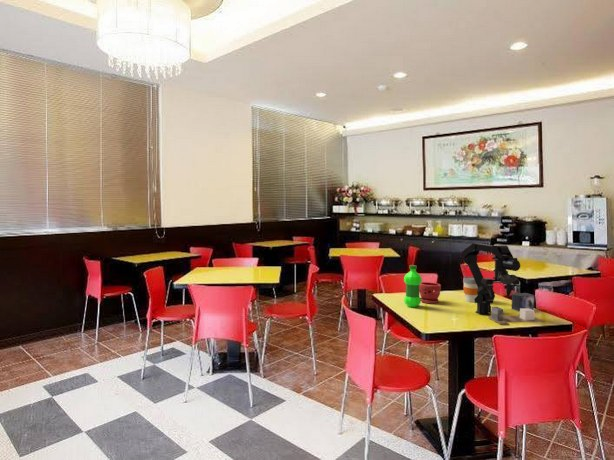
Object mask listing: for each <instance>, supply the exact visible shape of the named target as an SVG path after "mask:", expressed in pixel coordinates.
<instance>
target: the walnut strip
mask: <svg viewBox="0 0 614 460" xmlns="http://www.w3.org/2000/svg"><path fill="white" fill-rule="evenodd" d="M490 314H491V315H487V316H488V318H487V319H490V320H491V321H493V322H495V323H497V324H499V325H510V323H544V322H545V321H544V320H542V319H539V318H537V317H535V316H534V320H524V319H522V318H520V315H504V308H501V307H499V306H491V312H490Z"/></svg>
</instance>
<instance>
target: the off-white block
mask: <svg viewBox="0 0 614 460" xmlns="http://www.w3.org/2000/svg"><path fill="white" fill-rule="evenodd" d="M519 316H520V318H522V319H524V320H534V317H535V309H534V310H532V309H529V308H520V312H519Z"/></svg>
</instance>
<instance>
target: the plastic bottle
mask: <svg viewBox="0 0 614 460" xmlns="http://www.w3.org/2000/svg"><path fill="white" fill-rule="evenodd" d="M408 267H409V269H410V271H408V272H407V273H406V274H405V275H404V277H403V282H404V283H405V295H404V296H405V297H404V298H403V301H404V304H405V305H406V306H407V307H408V308H417V307H418V306H419V305H420V304H421V302H422V301H421V299H420V298H421V296H420V291H419V285H420V283H421V282H422V280H423V278H422V275H420V274H419V273H418V272H417V269H418V268H417V265H414V264H410V265H409V266H408Z"/></svg>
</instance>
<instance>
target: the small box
mask: <svg viewBox="0 0 614 460" xmlns="http://www.w3.org/2000/svg"><path fill="white" fill-rule="evenodd" d="M511 294H512V295H511V296H512V297H511V310H513V311H517V312H519V313H520V308H529V309H532V310H534V311H535V295H534V294H531V293H528V292H523V293H522V292H518V293H511Z"/></svg>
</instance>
